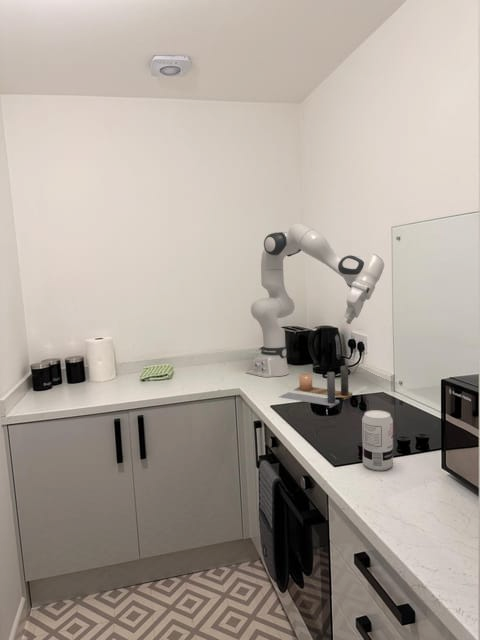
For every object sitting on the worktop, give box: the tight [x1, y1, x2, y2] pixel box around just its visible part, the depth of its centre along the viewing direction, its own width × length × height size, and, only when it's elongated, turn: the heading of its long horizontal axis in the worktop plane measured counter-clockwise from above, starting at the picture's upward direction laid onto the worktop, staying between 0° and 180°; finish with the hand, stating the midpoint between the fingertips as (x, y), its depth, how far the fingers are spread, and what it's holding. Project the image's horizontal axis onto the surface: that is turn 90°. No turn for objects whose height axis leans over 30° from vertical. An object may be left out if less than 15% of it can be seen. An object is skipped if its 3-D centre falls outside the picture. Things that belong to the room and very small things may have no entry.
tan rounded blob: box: [298, 373, 313, 391], centre depth 214 cm, size 6×6×6 cm
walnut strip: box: [293, 365, 353, 401], centre depth 209 cm, size 24×8×13 cm, turn 52°
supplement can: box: [361, 409, 394, 472], centre depth 137 cm, size 8×8×15 cm
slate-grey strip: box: [278, 371, 340, 409], centre depth 200 cm, size 24×8×13 cm, turn 52°
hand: (347, 320), depth 202 cm, fingers open, 8 cm apart
